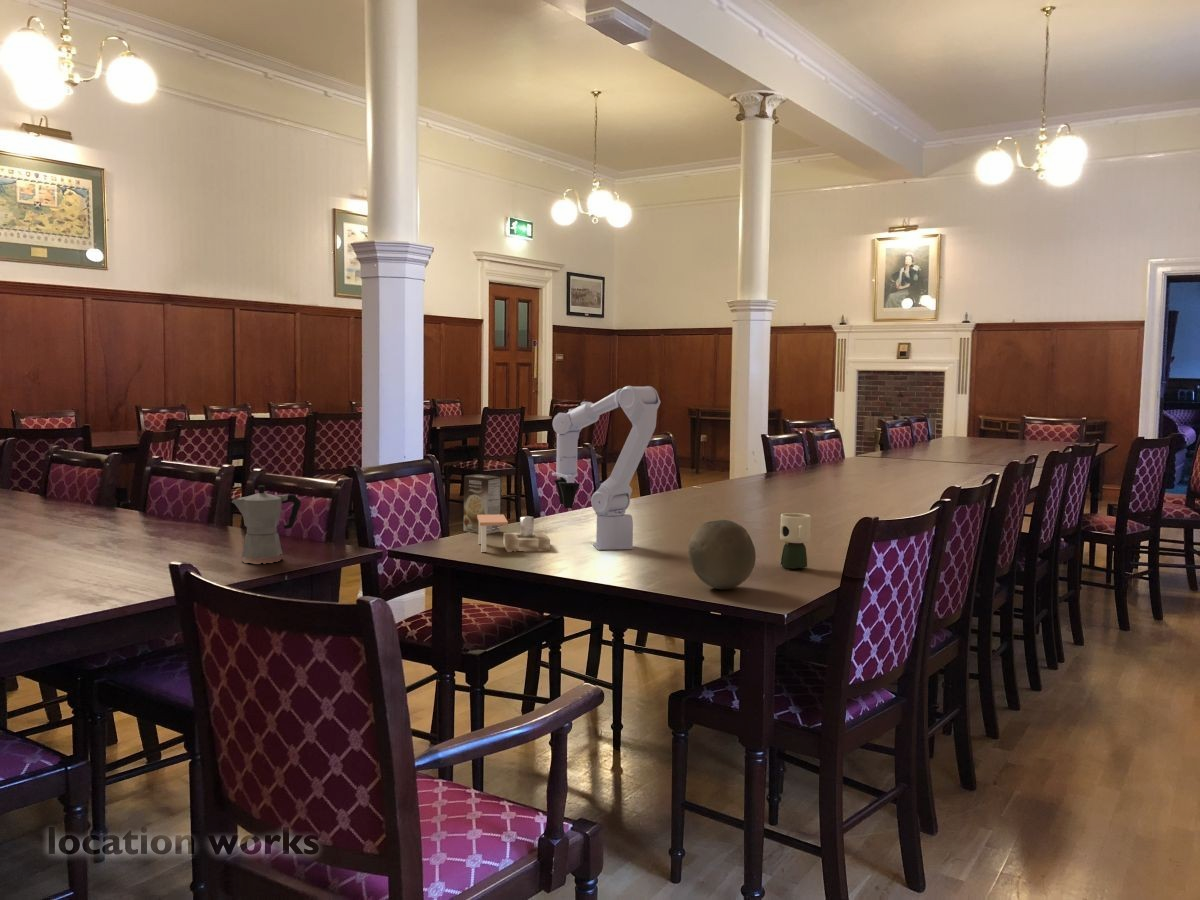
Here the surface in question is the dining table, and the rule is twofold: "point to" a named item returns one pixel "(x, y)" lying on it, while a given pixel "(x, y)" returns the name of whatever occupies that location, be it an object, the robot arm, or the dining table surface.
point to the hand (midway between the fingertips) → (566, 506)
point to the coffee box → (481, 500)
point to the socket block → (526, 542)
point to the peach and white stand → (488, 521)
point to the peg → (526, 527)
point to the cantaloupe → (722, 554)
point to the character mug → (794, 539)
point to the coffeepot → (264, 522)
